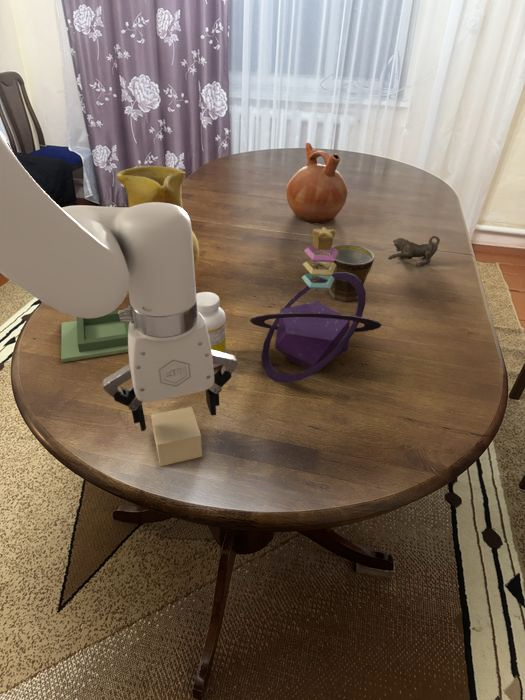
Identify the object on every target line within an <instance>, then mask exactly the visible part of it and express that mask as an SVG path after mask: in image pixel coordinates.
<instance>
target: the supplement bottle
mask: <svg viewBox="0 0 525 700" xmlns="http://www.w3.org/2000/svg"><path fill="white" fill-rule="evenodd" d="M196 299H197V311H198V312H199V313H200V314H201V315H202V317H203V319H204V320H205V323H206V326H207V330H208V334H209V339H210V345H211V350H213V351H217V352H222V353H226V352H227V350H226V349H227V347H226V345H227V344H226V343H227V342H226V339H227V337H226V336H227V335H226V313H225V311H224V310H223V308H222V307H220V305H221V304H220V303H221V302H220V297H219V295H217V294H216V293H214V292H212V291H211V292H210V291H201V292H198V293H197V292H196ZM226 354H227V353H226ZM219 366H220V365H218V364H214V363H213V368H214V369H215V368H218V367H219Z"/></svg>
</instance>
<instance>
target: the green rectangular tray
mask: <svg viewBox="0 0 525 700" xmlns="http://www.w3.org/2000/svg"><path fill="white" fill-rule="evenodd" d="M118 310H119V309H117V310H114V311H112V312H111V313H109V314H107V315H105V316H102V317H98V318H78V317H76V320H72V321H64V322H61V324H60V325H61V326H60V327H61V330H60V332H61V335H60V337H61V339H60V340H61V342H60V344H61V345H60V351H61V352H60V360H61V363H67V362H73V361H80V360H86V359H93V358H100V357H106V356H111V355H119V354H124V353H128V329H129V323H130V322H127V321H122V322H120V318H119V312H118Z"/></svg>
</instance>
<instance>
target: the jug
mask: <svg viewBox="0 0 525 700" xmlns="http://www.w3.org/2000/svg"><path fill="white" fill-rule="evenodd" d="M305 154H306V162H307V163H306V166H304V167H302V168H300V169H299V170H297V171H296V173H294V175H293V176H292V177H291V178H290V180H289V181H288V183H287V185H286V202H287V204H288V206H289V208H290V209H291V211H292V212H293V213H294V215H295V217H297V219H299V220H300V221H303V222H305V223H309V224H325V223H330V222H331V221H332V220H333V219H334V218H335V217H336V216H337V215H338V214H339V213H340V211H342V209H343V207H345V204H346V201H347V198H348V187H347V185H346V182H345V179H344V178H343V176H342V175H341V174H340V172H339V171H338V170H337V168H338V165H339V163H340V161H341V157H340V156H339V154H338V153H332V154H331V155H330V154H329V153H327V152H326V151H325V150H317V149H315V148H313V145H312V144H311V142H306V143H305ZM319 157H321V158H322V159H323V161H324V164H322V163H319V162H318V158H319Z"/></svg>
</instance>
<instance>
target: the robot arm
mask: <svg viewBox="0 0 525 700" xmlns="http://www.w3.org/2000/svg"><path fill="white" fill-rule="evenodd" d="M192 231H193V229H192V221H191V218H190V216H189V215H188V213H187V211H185V210H184V208H183V209H182V208H180V207H178V206H176V205H173V204H169V203H160V202H151V203H143V204H139V205H135V206H132V207H129V206H128V207H127V206H126V207H124V206H121V207H120V206H119V207H117V206H100V205H97V206H96V205H84V204H83V205H81V204H80V205H68V206H67V205H66V206H63V207H61V206H60V205H59V204H57V203H56V201H55V200H54V199H52V198H51V197H50V195H49V194H48V193H46V191H45V190H44V189H43V188H42V187H41V186H40V185H39V184H38V183H37V182H36V180H35V179H34V178H33V177H32V176H31V175H30V173H29V172H28V170H26V169H25V167H24V166H23V165H22V162H21V161H20V160H19V159H18V158H17V156H16V155H15V154H14V151H13V150H12V149H11V147H10V146H9V144H8V142H7V140H6V139H5V136H4V135H3V134H2V132H1V131H0V274H1V275H2V276H4V277H5V278H6V279H7V280H9V281H10V282H12V283H13V284H14V285H16V286H18V287H19V288H21V289H22V290H24V291H25V292H26V293H28V294H30V296H31V295H32V296H33V297H34V298H36V299H37V300H39V301H40V302H42V303H43V304H45V305H47V306H48V307H50V308H52V309H54V310H56V311H58V312H59V313H62V314H65V315H66V316H67V315H68V316H70V317H74V318H77V317H78V318H98V317H102V316H105V315H107V314H109V313H111V312H112V311H116V309H117V310H118V312H119V318H120V322H122V321H127V322H130V323H129V329H128V352H127V354H128V363H127V364H126V365H125V366H123V367H121V368H119V369H118V370H116V371H115V372H114V373H112V374H110V375H109V376H106V377H105V378H104V379H102V389H103V390H104V392H106V393H107V394H108V395H109V396H110V397H112V398H113V399H114V401H115V402H117V403H118V404H121V405H124V406H126V407H128V410H129V411H131V414H132V419H133V423H134V424H138V423H139V426H140V431H141V432H145V431H146V430H147V425H146V420H145V419H146V418H145V413H144V409H143V403H151V402H158V401H162V400H168V399H172V398H177V397H183V396H187V395H192V394H196V393H197V394H198V393H201V392H204V391H205V402H206V405H207V408H208V411H209V413H210V416H217V407H218V406H220V393H221V392H222V390H223V387H224V386H225V385H226V384H227V383H228V382H229V381H230V380H231V378H232V375H233V373H234V372H235V370H236V368H237V366H238V364H239V362H238V359H237V357H236V356H235V355H234V354H230V353H222V352H217V351H213V350H211V345H210V339H209V334H208V330H207V326H206V323H205V320H204V319H203V317H202V315H201V314H200V313H199V312H198V311H197V299H196V294H197V286H196V273H195V271H196V270H194V256H193V241H192ZM127 295H128V298H129V299H128V300H129V304H127V307H125V308H124V309H118V308H119V307H120V306H121V304H123V302H124V301H125V299H126V297H127ZM213 363H214V364H218V365H219V366H221V367H220V368H219V369H218V370H217V371H216V372H215V368H213ZM129 380H131V383H132V385H131V387H130V388H129V389H126V388H124V387H122V386H121V385H123V384H124V383H126V382H128V381H129Z"/></svg>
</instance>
